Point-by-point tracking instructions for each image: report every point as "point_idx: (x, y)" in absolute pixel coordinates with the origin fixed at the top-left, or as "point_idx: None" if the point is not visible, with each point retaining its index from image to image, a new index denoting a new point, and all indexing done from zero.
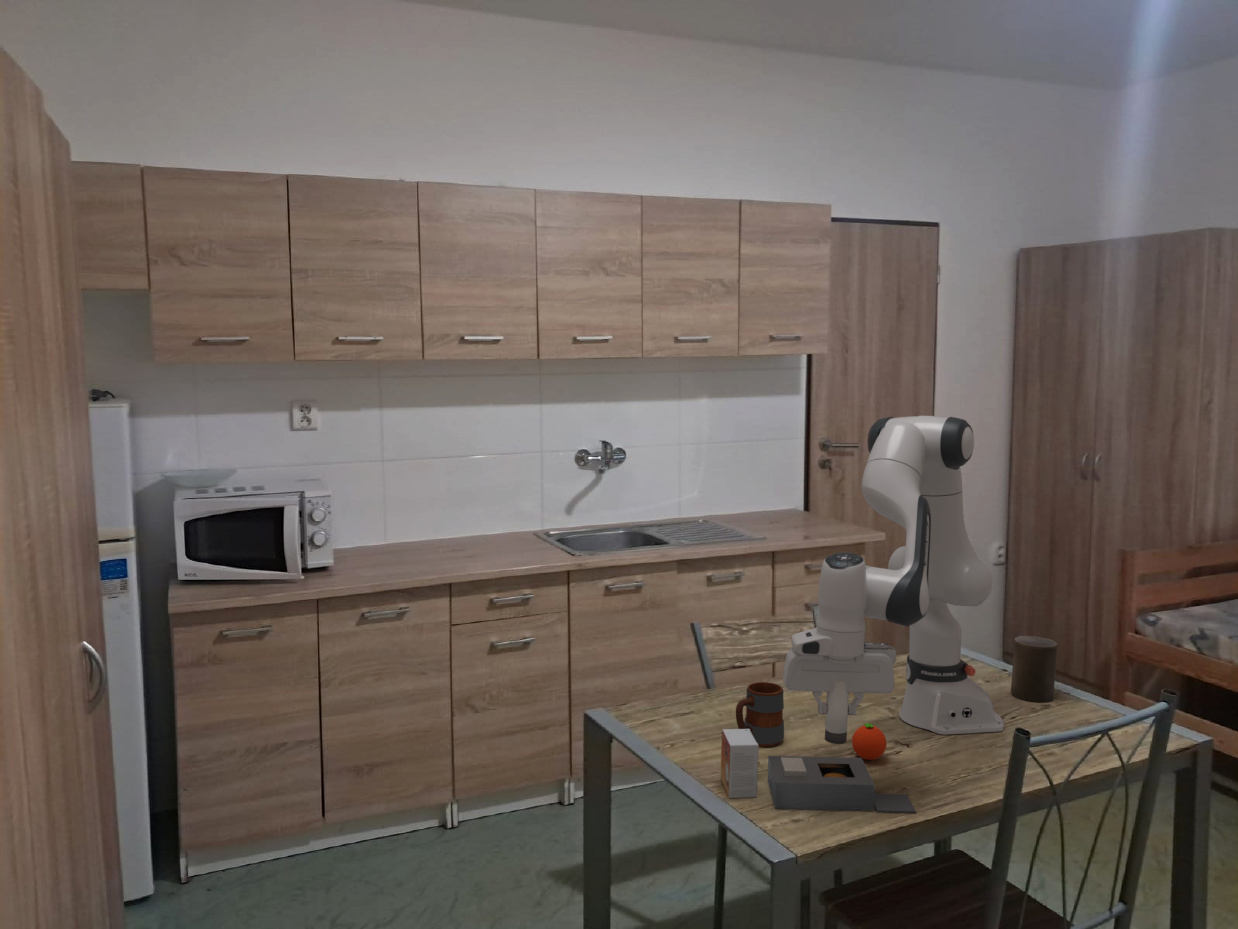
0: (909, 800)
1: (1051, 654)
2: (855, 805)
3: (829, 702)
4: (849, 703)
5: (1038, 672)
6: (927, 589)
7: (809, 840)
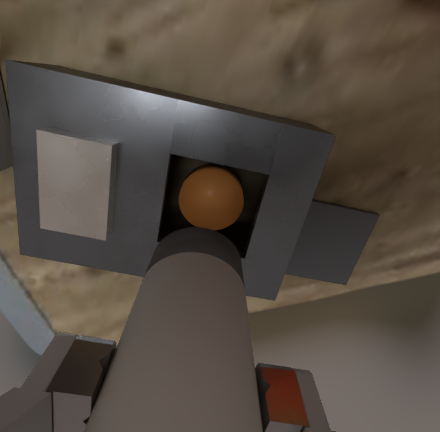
0: (364, 244)
1: None
2: None
3: None
4: (286, 429)
5: None
6: None
7: (105, 330)
